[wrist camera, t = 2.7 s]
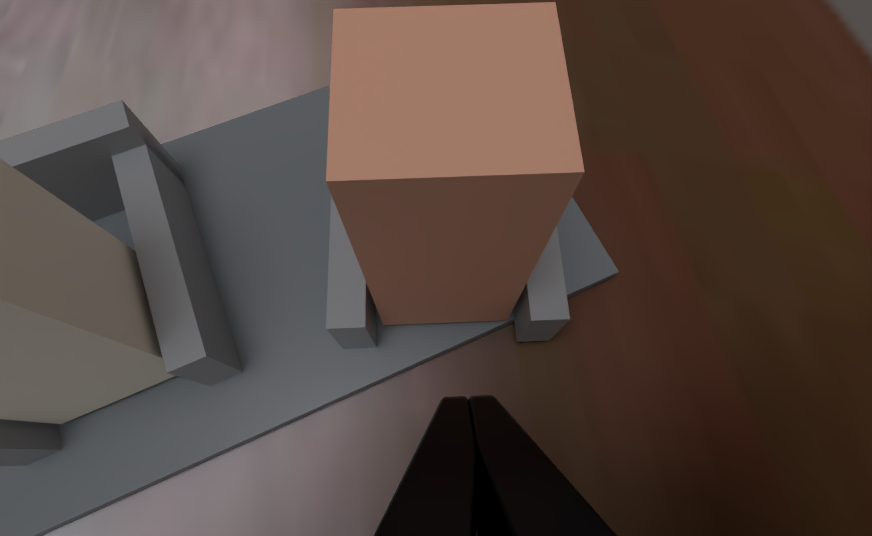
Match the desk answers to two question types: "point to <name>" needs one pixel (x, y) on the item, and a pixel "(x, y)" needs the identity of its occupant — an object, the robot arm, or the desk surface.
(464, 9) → the terracotta box
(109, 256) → the cream box
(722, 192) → the desk surface
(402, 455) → the desk surface
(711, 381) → the desk surface
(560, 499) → the robot arm
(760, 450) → the desk surface
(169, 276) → the grey three-slot stand
